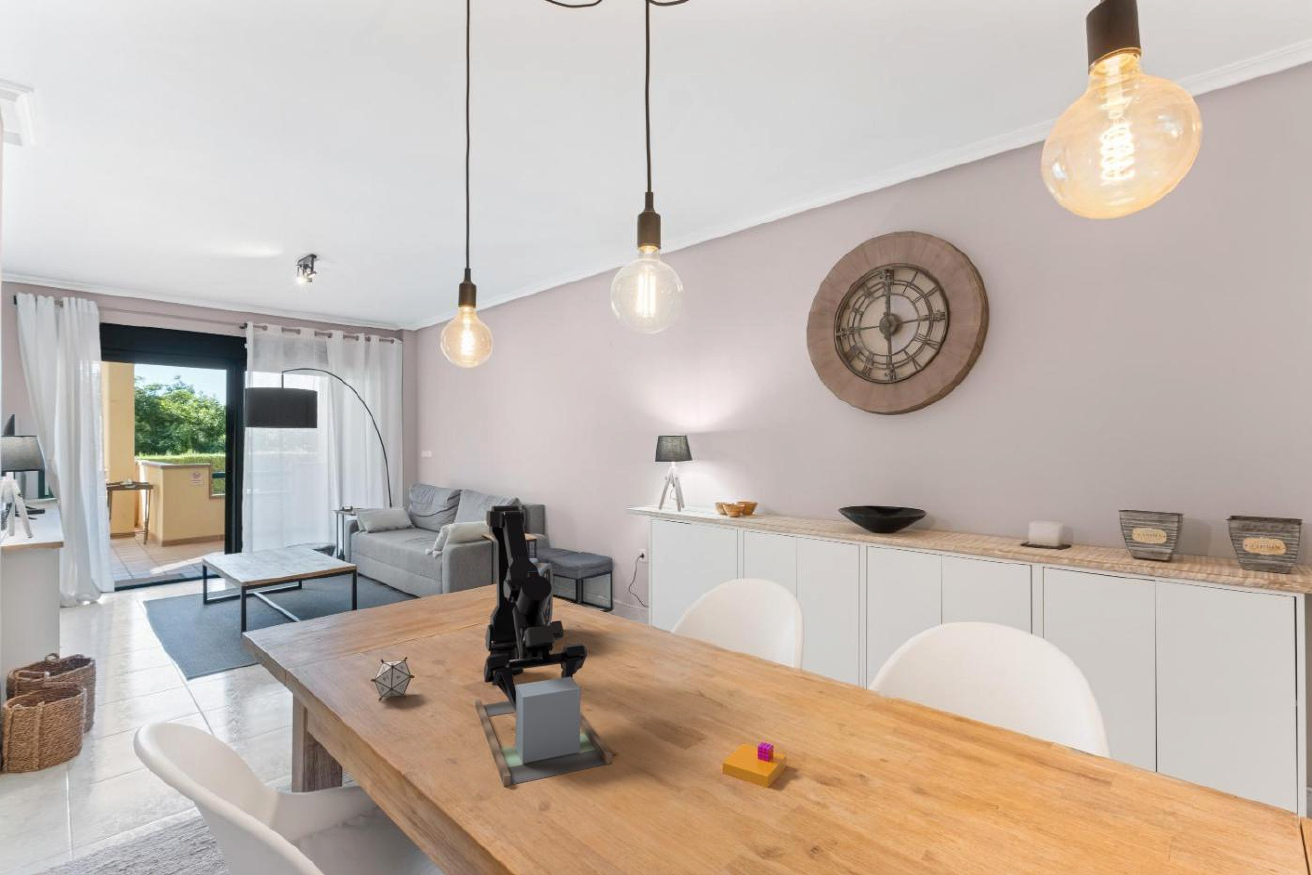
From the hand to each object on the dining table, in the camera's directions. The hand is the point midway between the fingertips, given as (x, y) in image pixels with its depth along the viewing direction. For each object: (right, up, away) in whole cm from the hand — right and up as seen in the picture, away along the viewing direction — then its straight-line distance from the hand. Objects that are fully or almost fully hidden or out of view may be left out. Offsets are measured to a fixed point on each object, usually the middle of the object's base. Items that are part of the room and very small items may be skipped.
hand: (543, 706), depth 111 cm
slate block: (+1, -7, -3) cm, 7 cm away
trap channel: (-2, -7, +4) cm, 8 cm away
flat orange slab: (+37, -7, -9) cm, 39 cm away
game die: (-36, -7, +20) cm, 42 cm away
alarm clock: (-15, -8, +63) cm, 65 cm away
